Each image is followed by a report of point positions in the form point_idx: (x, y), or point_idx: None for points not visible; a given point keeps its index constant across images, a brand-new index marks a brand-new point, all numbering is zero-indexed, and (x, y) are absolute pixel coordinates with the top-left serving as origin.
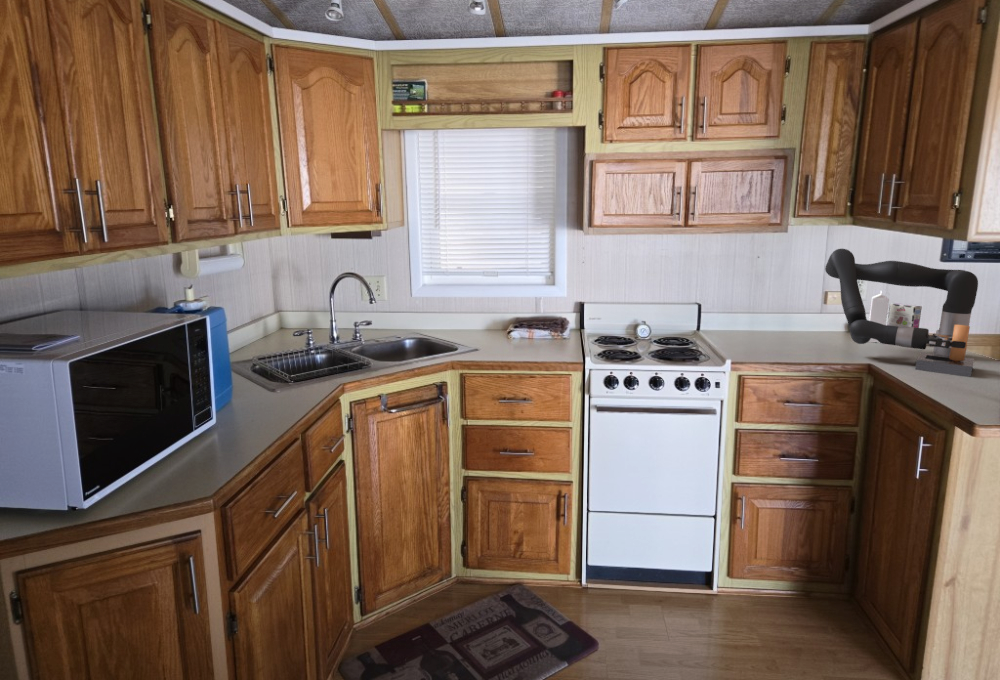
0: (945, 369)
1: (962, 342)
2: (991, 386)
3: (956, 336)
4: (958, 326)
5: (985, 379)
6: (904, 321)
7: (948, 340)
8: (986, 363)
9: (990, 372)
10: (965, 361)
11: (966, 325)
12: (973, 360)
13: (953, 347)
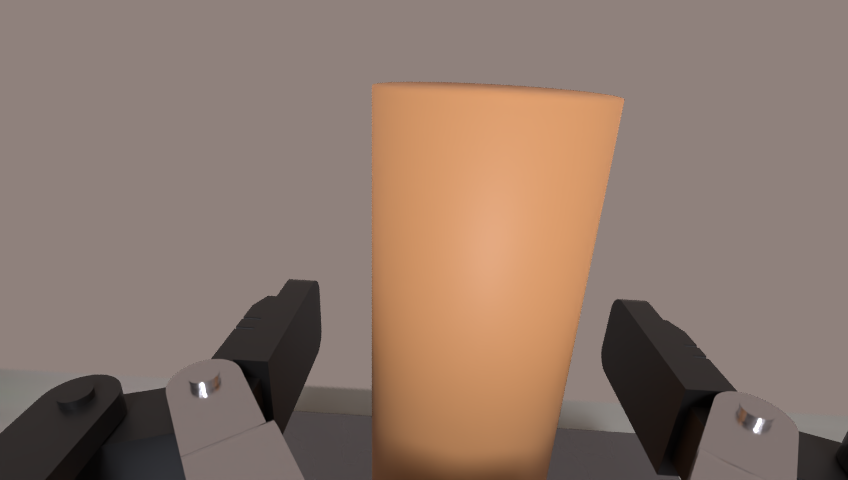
0: None
1: (655, 319)
2: (799, 413)
3: (578, 302)
4: (618, 109)
5: (616, 425)
6: None
7: (796, 446)
8: (6, 389)
9: (345, 391)
10: None
11: (409, 82)
12: (325, 414)
13: (544, 470)
